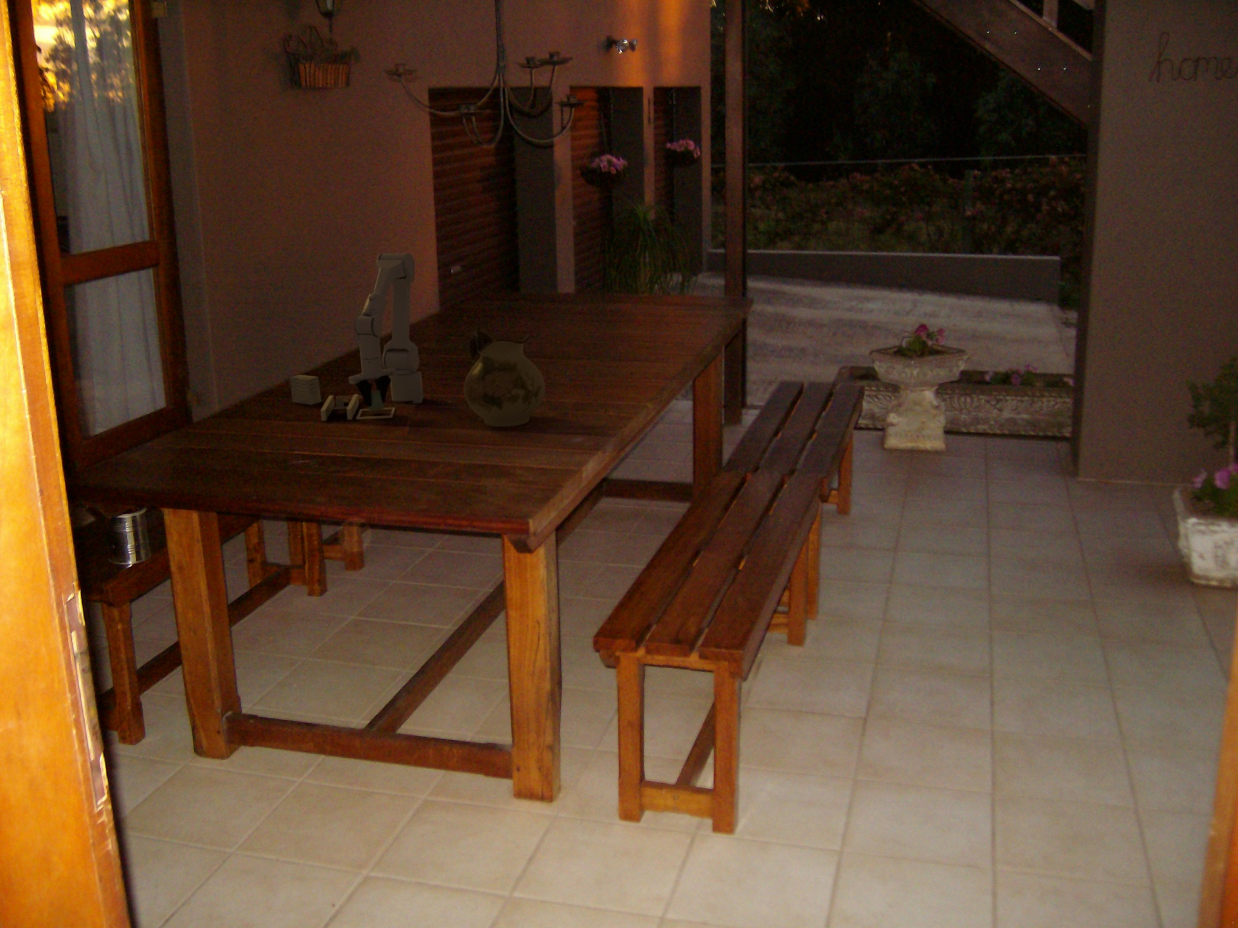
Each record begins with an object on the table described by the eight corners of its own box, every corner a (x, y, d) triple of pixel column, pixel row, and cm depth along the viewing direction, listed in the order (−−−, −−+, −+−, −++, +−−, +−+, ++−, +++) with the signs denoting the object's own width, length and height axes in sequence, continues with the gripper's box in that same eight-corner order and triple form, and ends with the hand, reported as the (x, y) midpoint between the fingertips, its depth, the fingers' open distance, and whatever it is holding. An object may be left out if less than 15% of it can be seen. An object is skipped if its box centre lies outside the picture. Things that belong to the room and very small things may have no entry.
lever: (368, 408, 368) (367, 394, 368) (359, 407, 348) (358, 393, 348) (337, 409, 367) (336, 396, 367) (327, 409, 348) (326, 395, 348)
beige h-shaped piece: (359, 407, 365) (358, 394, 364) (352, 422, 348) (350, 408, 347) (330, 408, 364) (329, 395, 363) (321, 424, 347) (320, 410, 346)
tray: (395, 412, 358) (395, 407, 357) (392, 420, 348) (392, 415, 348) (360, 413, 357) (360, 409, 357) (356, 422, 348) (356, 417, 347)
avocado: (380, 409, 354) (376, 390, 354) (385, 408, 351) (381, 389, 350) (367, 411, 352) (363, 393, 352) (372, 411, 349) (368, 392, 348)
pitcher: (534, 432, 331) (529, 340, 324) (450, 431, 335) (444, 340, 328) (555, 412, 352) (550, 326, 345) (476, 411, 356) (470, 326, 349)
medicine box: (322, 405, 369) (319, 376, 367) (311, 408, 366) (308, 379, 363) (303, 402, 374) (300, 374, 371) (292, 405, 370) (289, 377, 367)
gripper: (384, 351, 355) (388, 397, 359) (340, 360, 346) (345, 407, 350) (398, 354, 350) (402, 401, 354) (354, 363, 341) (359, 411, 345)
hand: (375, 404), depth 352 cm, fingers closed on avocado, 4 cm apart
